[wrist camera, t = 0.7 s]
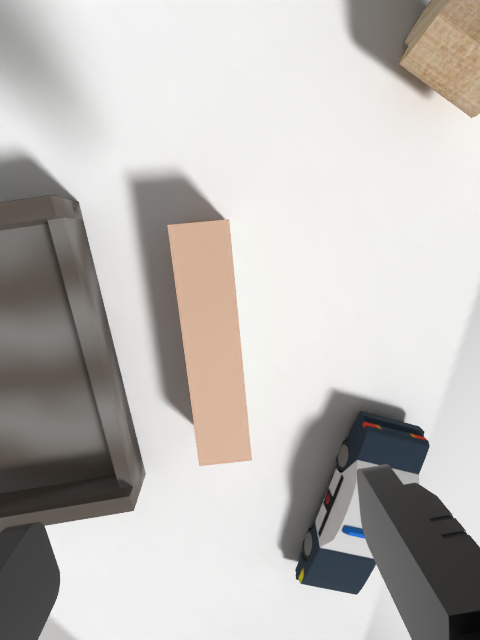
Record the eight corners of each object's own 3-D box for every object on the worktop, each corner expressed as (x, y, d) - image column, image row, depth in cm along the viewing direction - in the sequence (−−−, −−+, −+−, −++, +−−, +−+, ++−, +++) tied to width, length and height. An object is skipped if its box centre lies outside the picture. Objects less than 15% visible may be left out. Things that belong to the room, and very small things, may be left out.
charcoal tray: (-114, 231, 24) (-180, 230, 20) (78, 202, 24) (50, 194, 20) (-14, 500, 29) (-51, 541, 25) (145, 474, 29) (133, 511, 25)
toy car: (292, 561, 32) (305, 619, 27) (354, 403, 29) (381, 437, 24) (344, 572, 33) (365, 630, 28) (410, 418, 29) (448, 454, 24)
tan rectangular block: (176, 227, 25) (167, 224, 20) (227, 222, 25) (229, 219, 21) (202, 431, 29) (199, 465, 24) (247, 426, 29) (251, 460, 24)
